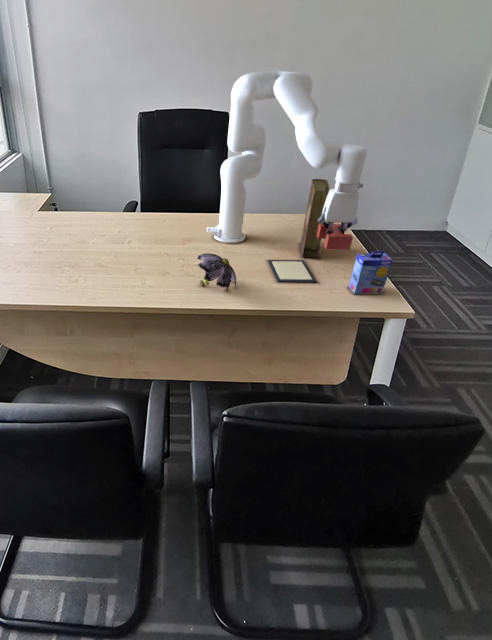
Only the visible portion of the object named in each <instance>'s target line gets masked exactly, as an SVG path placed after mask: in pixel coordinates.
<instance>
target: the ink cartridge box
mask: <svg viewBox="0 0 492 640" xmlns="http://www.w3.org/2000/svg"><path fill="white" fill-rule="evenodd" d="M354 262H355V263H354V265H353V269H352V273H351V277H350V280H349V285H348V289H350V291H351V292H352V293H353V294H354V295H378V294H379V295H382V294H383V292H384V289H385V286H386V283H387V280H388V277H389V273H390V271H391V267H392V265H393V262H394V259H393V258H392V257H390V256H389V255H388V254H387V253H386V252H385V250H379V251H378V250H377V251H375V250H374V251H372V253H369V252H366V253H357V254H356V257H355V261H354Z"/></svg>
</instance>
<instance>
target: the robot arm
mask: <svg viewBox="0 0 492 640" xmlns="http://www.w3.org/2000/svg"><path fill="white" fill-rule="evenodd" d="M312 90H313V80H312V78H311V77H310V75H309V74H308V73H306V72H304V71H283V70H268V71H267V70H266V71H265V70H264V71H254V72H253V71H252V72H249V73H246V74H243V75H242V76H240V77H239V78H238V79H237V80H236V81H234V84H233V85H232V89H231V93H230V112H229V113H230V114H229V122H228V130H227V131H228V132H227V148H228V149H229V151H230V152H232V153H234V154H237V155H234V156H231V157H228V158H227V159H225V160H224V161H223V162H222V164H221V166H220V172H219V173H220V184H221V185H220V186H221V189H220V190H221V191H220V205H219V206H220V207H219V217H218V218H219V219H218V224H216V226H214V227H211V226H210V227H206V232H207V233H209V234H211V235H213V238H214V240H216V241H218V242H221V243H225V244H226V243H227V244H238V243H241V242H244V240H245V239H246V234H245V233H243V225H244V218H245V217H244V215H245V208H246V207H245V206H246V198H247V197H246V196H247V195H246V194H247V192H246V188H245V182H246V181H248V180H252V179H254V178H256V177H257V176H258V175H259V174H260V173H261V171H262V168H263V163H264V162H263V161H264V155H265V149H266V141H267V135H266V131H265V128H264V127H263V125H262V124H260V123H259V122H255V121H254V119H255V106H254V103H253V102H255V101H264V100H269V99H276V100H277V102H278V103H279V105H280V107H282V109H283V110H284V112H285V113H286V115H287V117H288V118H289V120H290V121H291V123H292V124H293V126H294V127H295V128H294V129H295V131H294V132H295V140H296V143H297V147H298V149H299V150H300V152H301V154H302V155H303V157H304V158H305V160H306V161H307V162H308V164H309V165H310V166H311V167H312V168H314V169H318V170H323V169H327V168H329V167H334V166H337V169H336V173H335V177H334V181H333V182H334V183H333V187H332V188H330V191H329V193H328V196H327V198H326V201H325V204H324V208H323V212H322V215H321V216H320V218H319V219H318V222H319V223H321V224H322V225H324V226H325V227H326V234H325V239H324V240H326V235H327V234H332V227H333V224H335V223H340V224H341V227H340V228H339V230H340V231H341V232H342V233H343V234H345V232H347V230H348V229H350V228H351V227H352V226H355V225H357V224H358V223H359V221H358V216H357V213H358V208H359V201H360V199H359V198H360V192H359V189H362V188H363V187H364V183H361V180H362V179H361V178H362V175H363V170H364V167H365V162H366V158H367V154H368V150H367V148H366V147H365V146H363V145H360V144H351V143H348V142H345V141H343V140H340V139H332V140H327V141H323V139H322V138H321V136H320V135H319V134H318V132H317V129H316V126H315V119H316V117H317V116H318V114H319V107H318V105H317V104H316V102H315V101H314V100H313V98H312V97H311V93H312ZM240 153H242V154H240ZM324 219H325V221H324Z"/></svg>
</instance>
